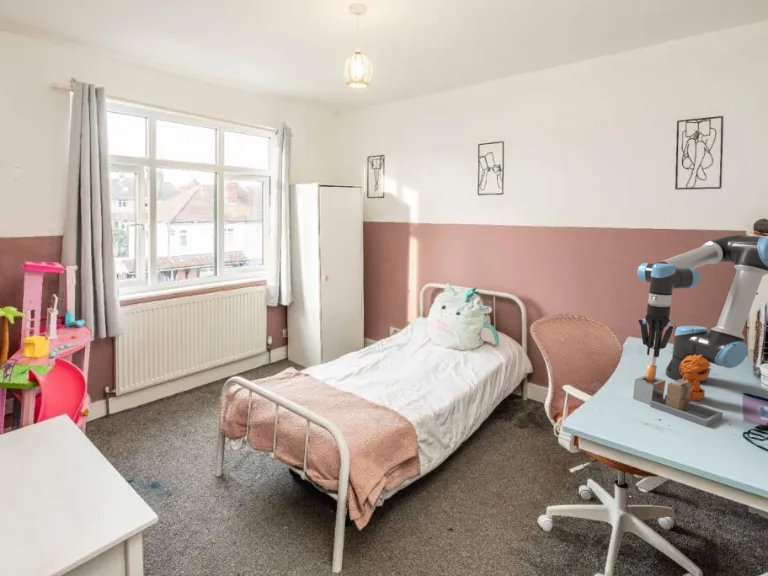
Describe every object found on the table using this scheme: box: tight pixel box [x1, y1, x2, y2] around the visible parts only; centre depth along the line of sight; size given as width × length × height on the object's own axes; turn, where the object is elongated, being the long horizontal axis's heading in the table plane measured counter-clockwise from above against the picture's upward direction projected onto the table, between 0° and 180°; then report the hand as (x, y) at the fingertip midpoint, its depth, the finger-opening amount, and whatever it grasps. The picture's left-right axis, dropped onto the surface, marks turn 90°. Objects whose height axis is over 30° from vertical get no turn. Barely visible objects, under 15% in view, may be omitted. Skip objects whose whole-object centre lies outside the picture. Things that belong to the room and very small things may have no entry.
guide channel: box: [649, 394, 723, 428], centre depth 171 cm, size 12×19×2 cm, turn 33°
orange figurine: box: [679, 354, 712, 402], centre depth 182 cm, size 11×11×18 cm
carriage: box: [664, 379, 692, 412], centre depth 173 cm, size 8×4×11 cm, turn 123°
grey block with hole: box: [632, 374, 666, 406], centre depth 182 cm, size 9×7×8 cm
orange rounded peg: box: [645, 363, 657, 382], centre depth 180 cm, size 3×3×6 cm
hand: (651, 364), depth 180 cm, fingers closed
